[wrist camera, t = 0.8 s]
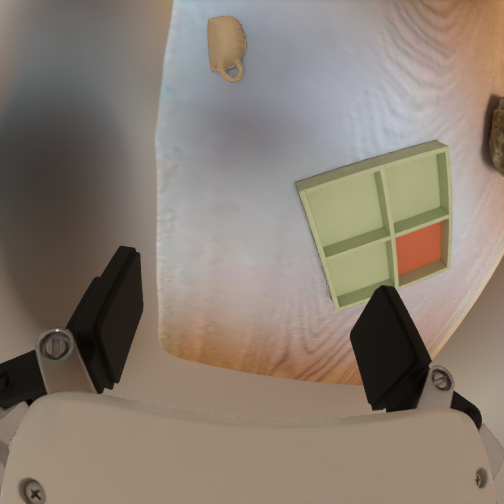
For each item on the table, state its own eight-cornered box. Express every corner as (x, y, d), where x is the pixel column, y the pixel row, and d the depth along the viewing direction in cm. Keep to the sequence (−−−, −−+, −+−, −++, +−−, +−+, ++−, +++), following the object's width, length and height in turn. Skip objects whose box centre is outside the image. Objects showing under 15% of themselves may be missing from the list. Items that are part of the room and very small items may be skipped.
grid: (436, 140, 30) (448, 145, 28) (441, 258, 41) (450, 269, 39) (295, 182, 34) (298, 191, 32) (332, 299, 45) (336, 311, 43)
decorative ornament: (245, 16, 23) (244, 4, 19) (246, 82, 28) (246, 81, 23) (208, 18, 23) (201, 7, 19) (210, 84, 28) (203, 84, 23)
